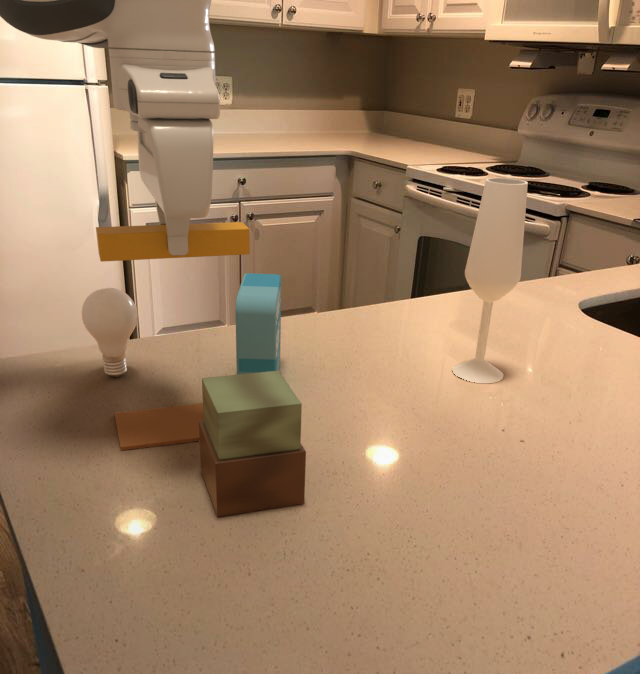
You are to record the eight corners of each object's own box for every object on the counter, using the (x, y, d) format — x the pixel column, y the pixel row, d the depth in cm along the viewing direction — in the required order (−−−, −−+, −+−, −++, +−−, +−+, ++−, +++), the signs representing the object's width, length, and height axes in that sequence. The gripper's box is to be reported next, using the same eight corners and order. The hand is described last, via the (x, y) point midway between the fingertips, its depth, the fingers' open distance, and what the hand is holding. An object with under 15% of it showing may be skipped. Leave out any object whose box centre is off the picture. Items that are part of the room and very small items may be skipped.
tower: (217, 517, 62) (213, 415, 57) (200, 471, 68) (196, 376, 64) (304, 503, 64) (307, 404, 60) (280, 460, 71) (281, 368, 66)
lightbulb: (102, 390, 84) (92, 300, 78) (80, 372, 88) (69, 286, 83) (151, 378, 87) (144, 291, 82) (128, 361, 91) (120, 278, 86)
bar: (100, 261, 65) (97, 234, 64) (98, 253, 67) (95, 226, 66) (249, 254, 69) (249, 228, 68) (242, 247, 72) (242, 221, 70)
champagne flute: (441, 371, 93) (465, 179, 81) (471, 359, 97) (498, 174, 86) (484, 388, 88) (515, 187, 77) (513, 374, 93) (548, 182, 81)
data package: (275, 399, 83) (276, 300, 78) (236, 398, 83) (234, 299, 77) (280, 360, 94) (281, 271, 88) (246, 359, 94) (245, 269, 88)
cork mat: (120, 450, 71) (120, 447, 71) (114, 415, 78) (114, 412, 78) (256, 433, 76) (256, 430, 75) (239, 402, 82) (239, 399, 82)
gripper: (117, 81, 69) (130, 225, 76) (139, 94, 52) (153, 279, 59) (182, 83, 71) (189, 223, 77) (224, 96, 54) (229, 274, 60)
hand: (174, 248), depth 68 cm, fingers closed on bar, 3 cm apart
